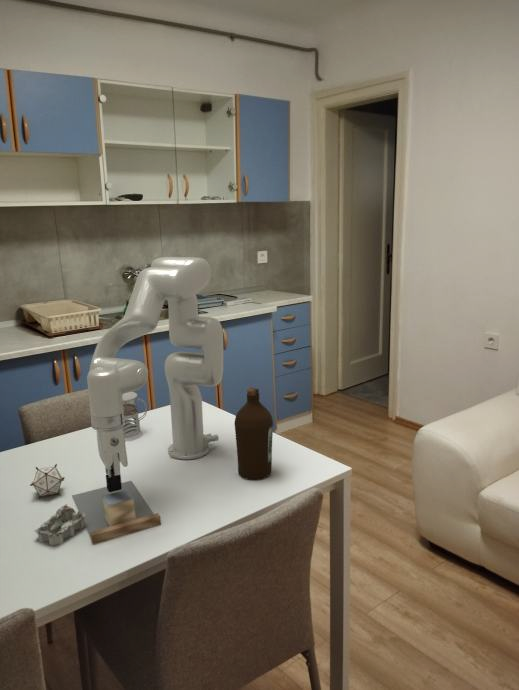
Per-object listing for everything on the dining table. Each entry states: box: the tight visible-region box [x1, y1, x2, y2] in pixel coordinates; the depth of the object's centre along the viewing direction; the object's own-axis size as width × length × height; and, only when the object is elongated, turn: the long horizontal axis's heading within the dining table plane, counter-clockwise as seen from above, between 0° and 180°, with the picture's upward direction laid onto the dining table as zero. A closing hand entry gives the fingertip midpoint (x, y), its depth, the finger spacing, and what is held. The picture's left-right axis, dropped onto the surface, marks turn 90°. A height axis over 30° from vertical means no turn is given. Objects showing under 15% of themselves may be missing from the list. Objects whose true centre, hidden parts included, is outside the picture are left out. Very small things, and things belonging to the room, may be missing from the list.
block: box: [103, 490, 136, 527], centre depth 135 cm, size 6×6×6 cm
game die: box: [29, 463, 66, 499], centre depth 148 cm, size 9×8×10 cm
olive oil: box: [234, 386, 274, 481], centre depth 156 cm, size 11×11×25 cm
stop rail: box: [90, 512, 162, 545], centre depth 131 cm, size 16×2×2 cm, turn 118°
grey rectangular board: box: [71, 480, 155, 540], centre depth 142 cm, size 16×24×1 cm
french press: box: [122, 391, 148, 442], centre depth 184 cm, size 10×12×25 cm
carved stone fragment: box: [34, 503, 87, 546], centre depth 131 cm, size 11×8×4 cm
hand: (114, 489), depth 137 cm, fingers closed
